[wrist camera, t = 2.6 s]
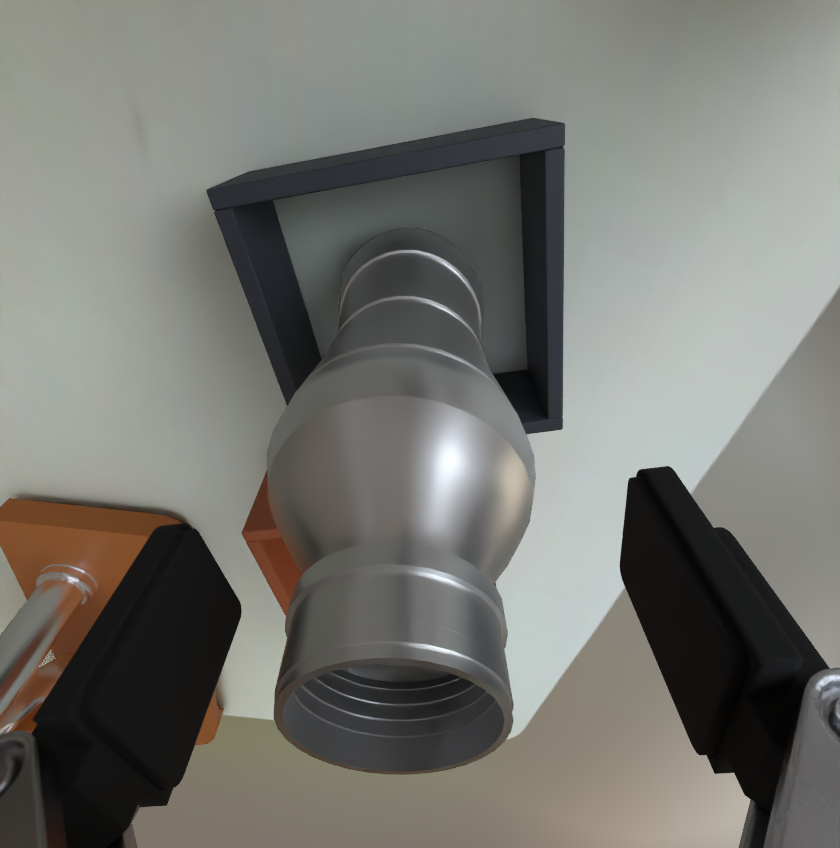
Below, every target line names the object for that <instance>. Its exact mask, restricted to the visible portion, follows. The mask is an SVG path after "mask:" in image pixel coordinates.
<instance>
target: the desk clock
mask: <svg viewBox="0 0 840 848" xmlns="http://www.w3.org/2000/svg"><path fill="white" fill-rule="evenodd" d="M180 523H181V522H180V521H178V520H175V519H173V518H170V517H168V516H163V515H158V514H151V513H142V512H133V511H124V510H114V509H105V508H96V507H86V506H77V505H68V504H59V503H49V502H40V501H31V500H21V499H12V498H9V499H8V500H7V501H6V502H5V503H4V504H3V505H2V506H1V507H0V546H1V548H2V550H3V552H4V554H5V556H6V558H7V560H8V562H9V564H10V566H11V568H12V570H13V572H14V574H15V576H16V578H17V580H18V582H19V584H20V586H21V588H22V590H23V592H24V595H25V597H26V599H27V601H26V602H25V604H24V605H23V606H22V608H21V609H20V610H19V611H18V613H17V614H16V615H15V617H14V618H13V619H12V620H11V622H10V623H9V624H8V626H7V627H6V628H5V630H4V631H3V632H2V633H1V635H0V735H1V734H4V733H8V732H11V731H14V730H17V731H27V732H28V733H30V734H31V733H32V732H33V730H34V729H35V727H36V725H37V723H36V722H34V721H33V720H32V719H33V718H34V716H35V714H36V713H37V711H38V710H39V708H40V707H41V705H42V704H43V702H44V700H45V699H46V697H47V696H48V694H49V693H50V691H51V690H52V688H53V686H54V685H55V683H56V682H57V680H58V679H59V677H60V676H61V674H62V672H63V671H64V669H65V668H66V666H67V665H68V663H69V661H70V660H71V658H72V657H73V655H74V654H75V652H76V651H77V649H78V647H79V646H80V644H81V643H82V641H83V640H84V638H85V637H86V635H87V633H88V632H89V630H90V629H91V627H92V626H93V624H94V623H95V621H96V619H97V618H98V616H99V615H100V613H101V612H102V610H103V608H104V607H105V605H106V604H107V602H108V601H109V599H110V598H111V596H112V594H113V593H114V591H115V590H116V588H117V587H118V585H119V584H120V582H121V580H122V579H123V577H124V576H125V574H126V573H127V571H128V570H129V568H130V566H131V565H132V563H133V562H134V560H135V559H136V557H137V555H138V554H139V552H140V551H141V549H142V548H143V546H144V545H145V543H146V541H147V540H148V538H149V537H150V535H151V534H152V532H153V531H154V530H155V529H156V528H157V527H159V526H163V525H172V524H180ZM50 649H52V652H53V654H54V656H55V658H56V659H54V660H52V661H51V662H49V663H47V664H45V665H43V666H42V667H40V668H38V667H39V666H40V664H41V663H42V661H43V660H44V658H45V657H46V655H47V654H48V652H49V651H50ZM223 710H224V708H222V707H219V706H217V702H216V687H215V690H214V693H213V696H212V699H211V701H210V704H209V707H208V710H207V712H206V715H205V718H204V721H203V724H202V726H201V729H200V732H199V735H198V737H197V740H196V743H195V745H202V744H208V743H209V742H211V741H212V740H213V739H214V737H215V734H216V732H217V729H218V725H219V723H220V719H221V716H222V713H223ZM139 808H140V806H139V805H138V806H137V808H136V811H135V813H134V816H133V818H132V821H133V819H134V817H135V815H136V814H137V812H138V810H139Z"/></svg>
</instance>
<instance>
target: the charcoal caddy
mask: <svg viewBox="0 0 840 848" xmlns="http://www.w3.org/2000/svg"><path fill="white" fill-rule="evenodd" d="M564 145H565V124H564V123H561V122H555V121H549V120H543V119H537V118H530V119H525V120H519V121H514V122H509V123H503V124H498V125H493V126H488V127H482V128H477V129H472V130H466V131H461V132H456V133H451V134H445V135H440V136H435V137H429V138H424V139H419V140H414V141H408V142H403V143H398V144H392V145H387V146H382V147H377V148H371V149H366V150H361V151H355V152H350V153H345V154H340V155H334V156H329V157H324V158H318V159H313V160H308V161H303V162H297V163H292V164H287V165H281V166H276V167H271V168H266V169H260V170H255V171H250V172H247V173H244V174H242V175H240V176H237V177H235V178H233V179H230V180H228V181H226V182H223V183H221V184H219V185H216V186H214V187H212V188H209V189H207V194H208V197H209V199H210V202H211V205H212V207H213V209H214V210H216V211H214V213H215V216H216V218H217V221H218V224H219V226H220V229H221V232H222V234H223V237H224V240H225V242H226V245H227V248H228V250H229V253H230V255H231V258H232V261H233V263H234V266H235V269H236V271H237V274H238V277H239V279H240V282H241V285H242V287H243V290H244V293H245V295H246V298H247V300H248V303H249V306H250V308H251V311H252V314H253V316H254V319H255V322H256V324H257V327H258V330H259V332H260V335H261V338H262V340H263V343H264V346H265V348H266V351H267V353H268V356H269V359H270V361H271V364H272V367H273V369H274V372H275V375H276V377H277V380H278V383H279V385H280V388H281V391H282V393H283V396H284V399H285V401H286V404H287V406H288V404H289V402H290V401H291V399H292V397H293V396H294V394H295V392H296V391H297V390H298V389H299V388H300V386H301V385H302V384H303V382H304V381H305V380H306V379H307V378H308V376H309V375H310V374H311V373H312V371H313V370H314V369H315V368H316V366H317V365H318V364H319V363H320V361H321V356H320V353H319V350H318V347H317V343H316V340H315V337H314V334H313V330H312V327H311V324H310V321H309V318H308V314H307V311H306V308H305V305H304V301H303V298H302V295H301V292H300V289H299V285H298V282H297V279H296V276H295V272H294V269H293V266H292V263H291V259H290V256H289V253H288V250H287V247H286V243H285V240H284V237H283V234H282V230H281V227H280V224H279V221H278V217H277V214H276V211H275V208H274V205H273V201H272V200H276V199H281V198H287V197H292V196H298V195H303V194H309V193H314V192H320V191H325V190H331V189H336V188H342V187H347V186H352V185H358V184H363V183H369V182H374V181H380V180H385V179H391V178H396V177H402V176H407V175H413V174H418V173H424V172H429V171H434V170H440V169H445V168H451V167H456V166H462V165H467V164H473V163H478V162H484V161H489V160H495V159H500V158H506V157H511V156H517V155H519V162H520V188H521V213H522V238H523V264H524V289H525V315H526V340H527V366H528V370H522V371H515V372H508V373H501V374H494V377H495V378H496V380H497V382H498V383H499V385H500V387H501V388H502V390H503V392H504V393H505V395H506V397H507V398H508V400H509V402H510V403H511V405H512V407H513V408H514V410H515V411H516V413H517V414H518V416H519V419H520V421H521V424H522V426H523V428H524V430H525V432H526V434H531V433H539V432H546V431H554V430H561V429H562V428H563V418H562V415H563V290H564V158H565V149H564V148H563V146H564Z"/></svg>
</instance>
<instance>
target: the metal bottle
mask: <svg viewBox="0 0 840 848" xmlns="http://www.w3.org/2000/svg"><path fill="white" fill-rule="evenodd" d="M483 304H484V301H483V294H482V287H481V284H480V281H479V278H478V275H477V273H476V271H475V270H474V268H473V266H472V264H471V263H470V261H469V260H468V259H467V258H466V256H465V255H464V254H463V253H462V252H461V251H460V250H459V249H458V248H457V247H455V246H454V245H453V244H451V243H450V242H449V241H447V240H446V239H445V238H443V237H441V236H439V235H437V234H435V233H433V232H430V231H426V230H422V229H418V228H402V229H397V230H391V231H389V232H386V233H384V234H382V235H379V236H377V237H375V238H373V239H371V240H370V241H369V242H367V243H366V244H365V245H363V246H362V247H361V248H360V249H359V250H358V251H357V252H356V253H355V254H354V256H353V257H352V258H351V260H350V261H349V263H348V265H347V267H346V268H345V270H344V273H343V276H342V280H341V283H340V291H339V304H338V312H339V326H338V333H337V335H336V336H335V339H334V341H333V342H332V344H331V346H330V348H329V350H328V352H327V354H326V355H325V356H324V358H323V359H322V360H321V361H320V363H319V364H318V365H317V366H316V368H315V369H314V370H313V371H312V373H311V374H310V375H309V376H308V378H307V379H306V380H305V381H304V382H303V384H302V385H301V386H300V388H299V389H298V390H297V391H296V392H295V394H294V396H293V397H292V399H291V401H290V402H289V404H288V406H287V407H286V409H285V411H284V412H283V414H282V416H281V417H280V419H279V421H278V423H277V424H276V426H275V428H274V429H273V433H272V436H271V440H270V443H269V447H268V451H267V481H268V501H269V505H270V509H271V513H272V517H273V519H274V522H275V524H276V526H277V528H278V530H279V532H280V534H281V537H282V539H283V541H284V543H285V545H286V547H287V549H288V551H289V553H290V555H291V557H292V559H293V561H294V563H295V564H296V566H297V567H298V569H299V570H300V572H301V573H302V576H301V577H300V579H299V580H298V581H297V582H296V584H295V587H294V589H293V592H292V594H291V598H290V602H289V606H288V610H287V614H286V622H285V632H286V636H287V641H286V646H285V650H284V654H283V659H282V663H281V667H280V672H279V676H278V680H277V684H276V688H275V704H274V720H275V722H276V725H277V727H278V730H279V731H280V732H281V733H282V734H283V736H284V737H285V738H286V740H288V741H289V742H290V743H292V744H293V745H294V746H295V747H296V748H298V749H299V750H301V751H303V752H305V753H307V754H308V755H310V756H312V757H314V758H317V759H319V760H322V761H324V762H327V763H329V764H333V765H337V766H340V767H344V768H347V769H352V770H358V771H363V772H370V773H381V774H420V773H431V772H437V771H443V770H448V769H452V768H456V767H459V766H463V765H467V764H469V763H471V762H474V761H476V760H479V759H481V758H483V757H485V756H486V755H488V754H490V753H491V752H493V751H495V750H496V749H497V747H499V746H500V745H501V744H502V743H503V742H505V740H506V738H507V737H508V735H509V734H510V732H511V729H512V724H513V716H512V710H513V700H512V694H511V688H510V681H509V675H508V669H507V663H506V657H505V651H504V648H505V646H506V641H507V635H508V633H507V627H506V621H505V615H504V609H503V603H502V598H501V596H500V594H499V592H498V590H497V588H496V586H495V585H494V583H495V582H496V580H497V579H498V578H499V576H500V575H501V574H502V572H503V571H504V570H505V568H506V567H507V566H508V564H509V562H510V560H511V558H512V556H513V555H514V553H515V551H516V549H517V547H518V545H519V543H520V542H521V540H522V538H523V535H524V533H525V531H526V529H527V526H528V524H529V521H530V515H531V509H532V504H533V495H534V487H535V479H536V474H535V462H534V455H533V452H532V449H531V446H530V443H529V440H528V437H527V435H526V432H525V430H524V428H523V426H522V424H521V421H520V419H519V416H518V414H517V413H516V411H515V410H514V408H513V407H512V405H511V403H510V402H509V400H508V398H507V397H506V395H505V393H504V392H503V390H502V388H501V387H500V385H499V383H498V382H497V380H496V378H495V377H494V375H493V373H492V372H491V370H490V368H489V366H488V364H487V361H486V358H485V355H484V353H483V350H482V347H481V335H480V333H481V329H482V322H483Z"/></svg>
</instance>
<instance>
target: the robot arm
mask: <svg viewBox="0 0 840 848" xmlns="http://www.w3.org/2000/svg"><path fill="white" fill-rule="evenodd" d="M620 572H621V576H622V580H623V582H624V585H625V587H626V590H627V592H628V594H629V597H630V599H631V601H632V604H633V606H634V609H635V611H636V613H637V616H638V618H639V620H640V623H641V625H642V628H643V630H644V632H645V635H646V637H647V640H648V642H649V644H650V646H651V649H652V651H653V654H654V656H655V659H656V661H657V663H658V666H659V668H660V670H661V673H662V675H663V678H664V680H665V682H666V685H667V687H668V689H669V692H670V694H671V696H672V699H673V701H674V704H675V706H676V708H677V711H678V713H679V716H680V718H681V720H682V723H683V725H684V727H685V730H686V732H687V734H688V737H689V739H690V741H691V744H692V746H693V748H694V749H695V751H696V752H697V753H698V754H699V755H707V757H708V759H709V761H710V764H711V766H712V768H713V771H714V773H715V774H718V773H735V775H736V777H737V780H738V782H739V784H740V786H741V788H742V790H743V792H744V794H745V795H746V796H747V797H748V798H750V799H751V801H750V805H749V809H748V813H747V817H746V821H745V824H744V829H743V833H742V836H741V840H740V845H739V848H840V668H832V669H830V668H829V667H828V665H827V664H826V663H825V661H824V660H823V658H822V657H821V656H820V655H819V653H818V652H817V650H816V649H815V648H814V646H813V645H812V643H811V642H810V641H809V639H808V638H807V636H806V635H805V634H804V632H803V631H802V629H801V628H800V627H799V625H798V624H797V623H796V621H795V620H794V618H793V617H792V616H791V614H790V613H789V612H788V610H787V609H786V607H785V606H784V605H783V603H782V602H781V601H780V599H779V598H778V597H777V595H776V594H775V592H774V591H773V589H772V588H771V587H770V585H769V584H768V583H767V581H766V580H765V578H764V577H763V576H762V574H761V573H760V572H759V570H758V569H757V567H756V566H755V565H754V563H753V562H752V561H751V559H750V558H749V556H748V555H747V554H746V552H745V551H744V549H743V548H742V547H741V545H740V544H739V543H738V541H737V540H736V539H735V537H734V536H733V535H732V534H731V533H730V532H729V531H728V530H726V529H724V528H719V527H718V528H713V527H712V525H711V523H710V522H709V521H708V519H707V518H706V516H705V515H704V513H703V512H702V510H701V509H700V508H699V506H698V505H697V503H696V502H695V501H694V499H693V497H692V496H691V494H690V493H689V492H688V490H687V489H686V487H685V486H684V484H683V483H682V481H681V480H680V479H679V477H678V476H677V474H676V473H675V471H674V470H673V469H672V468H671V467H669V466H666V467H658V468H649V469H641V470H639V471H638V472H637V476H636V477H634V478H630V479H629V481H628V489H627V499H626V509H625V519H624V528H623V538H622V548H621V558H620ZM240 618H241V604H240V601H239V600H238V598H237V596H236V595H235V593H234V591H233V589H232V588H231V586H230V584H229V583H228V581H227V579H226V578H225V576H224V574H223V572H222V571H221V569H220V567H219V566H218V564H217V562H216V561H215V559H214V557H213V556H212V554H211V552H210V550H209V549H208V547H207V545H206V544H205V542H204V540H203V539H202V537H201V535H200V534H199V532H198V531H197V530H196V529H192V528H191V527H190V525H188V524H186V523H180V524H172V525H163V526H159V527H157V528H156V529H155V530H154V531H153V532H152V534H151V535H150V537H149V538H148V540H147V541H146V543H145V545H144V546H143V548H142V549H141V551H140V552H139V554H138V555H137V557H136V559H135V560H134V562H133V563H132V565H131V566H130V568H129V570H128V571H127V573H126V574H125V576H124V577H123V579H122V580H121V582H120V584H119V585H118V587H117V588H116V590H115V591H114V593H113V594H112V596H111V598H110V599H109V601H108V602H107V604H106V605H105V607H104V608H103V610H102V612H101V613H100V615H99V616H98V618H97V619H96V621H95V623H94V624H93V626H92V627H91V629H90V630H89V632H88V633H87V635H86V637H85V638H84V640H83V641H82V643H81V644H80V646H79V647H78V649H77V651H76V652H75V654H74V655H73V657H72V658H71V660H70V661H69V663H68V665H67V666H66V668H65V669H64V671H63V672H62V674H61V676H60V677H59V679H58V680H57V682H56V683H55V685H54V686H53V688H52V690H51V691H50V693H49V694H48V696H47V697H46V699H45V700H44V702H43V704H42V705H41V707H40V708H39V710H38V711H37V713H36V714H35V716H34V718H33V719H32V720H33V721H34V722H36V723H37V725H36V727H35V729H34V730H33V732H32V733H31V734H30V733H28V732H27V731H17V730H14V731H11V732H8V733H4V734H1V735H0V848H137V843H136V839H135V834H134V830H133V826H132V818H133V816H134V813H135V811H136V808H137V806H138V805H139V806H140V807H148V806H164V805H165V806H166V805H167V803H168V801H169V798H170V795H171V792H172V790H173V787H176V786H177V785H178V784H179V783H180V781H181V780H182V778H183V775H184V773H185V771H186V768H187V765H188V762H189V759H190V757H191V754H192V751H193V749H194V746H195V743H196V740H197V737H198V735H199V732H200V729H201V726H202V724H203V721H204V718H205V715H206V712H207V710H208V707H209V704H210V701H211V699H212V696H213V693H214V690H215V687H216V685H217V682H218V679H219V676H220V674H221V671H222V668H223V665H224V663H225V660H226V657H227V654H228V651H229V649H230V646H231V643H232V640H233V638H234V635H235V632H236V629H237V626H238V624H239V621H240Z"/></svg>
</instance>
